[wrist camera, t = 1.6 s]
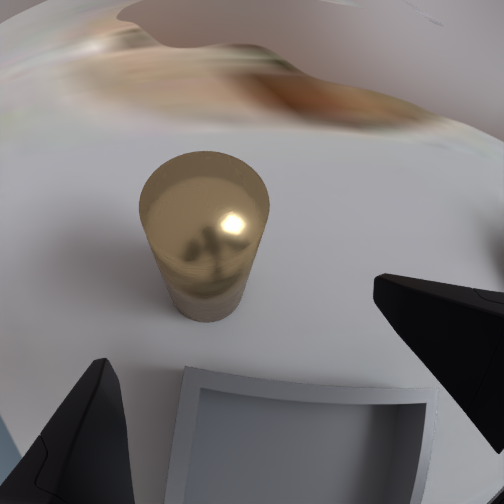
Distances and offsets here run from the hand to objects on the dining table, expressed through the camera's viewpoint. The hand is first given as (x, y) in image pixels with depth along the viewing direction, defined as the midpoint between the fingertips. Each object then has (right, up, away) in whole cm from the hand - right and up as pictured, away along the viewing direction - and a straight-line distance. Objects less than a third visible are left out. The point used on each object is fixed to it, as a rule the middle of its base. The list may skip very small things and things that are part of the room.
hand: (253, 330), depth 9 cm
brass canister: (-3, 0, +13) cm, 13 cm away
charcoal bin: (+3, -14, +7) cm, 16 cm away
